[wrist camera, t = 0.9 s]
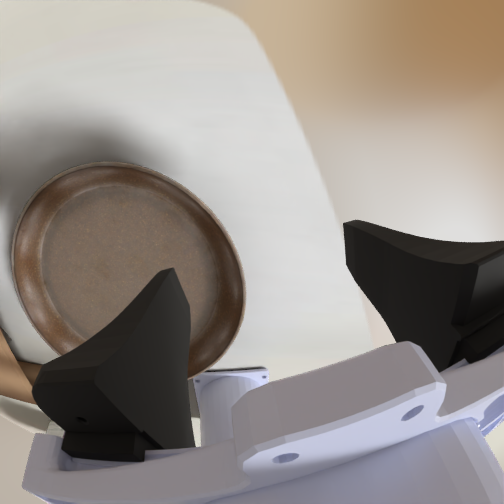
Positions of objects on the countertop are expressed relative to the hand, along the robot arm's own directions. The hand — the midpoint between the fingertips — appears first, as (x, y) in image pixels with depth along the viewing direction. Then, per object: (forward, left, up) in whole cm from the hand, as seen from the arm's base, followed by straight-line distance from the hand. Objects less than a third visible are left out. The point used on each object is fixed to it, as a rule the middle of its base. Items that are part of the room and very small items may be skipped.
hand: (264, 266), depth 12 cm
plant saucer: (-6, +10, -11) cm, 17 cm away
